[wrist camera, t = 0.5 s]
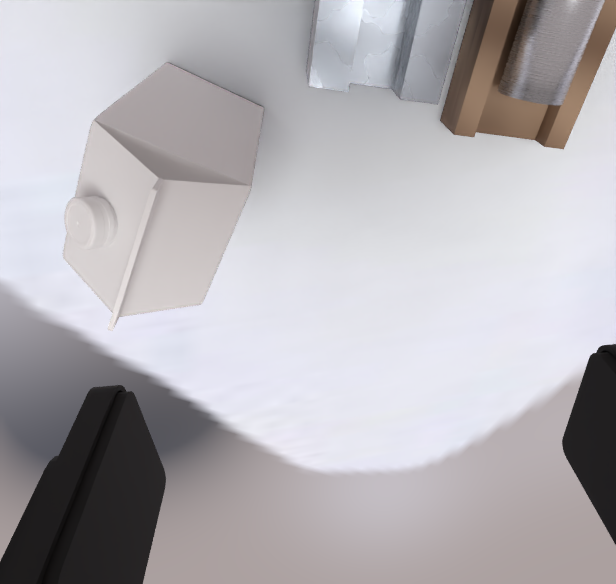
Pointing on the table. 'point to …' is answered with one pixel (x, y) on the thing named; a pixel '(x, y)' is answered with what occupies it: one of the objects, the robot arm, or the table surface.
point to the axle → (548, 49)
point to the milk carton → (161, 192)
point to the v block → (384, 45)
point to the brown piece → (489, 69)
